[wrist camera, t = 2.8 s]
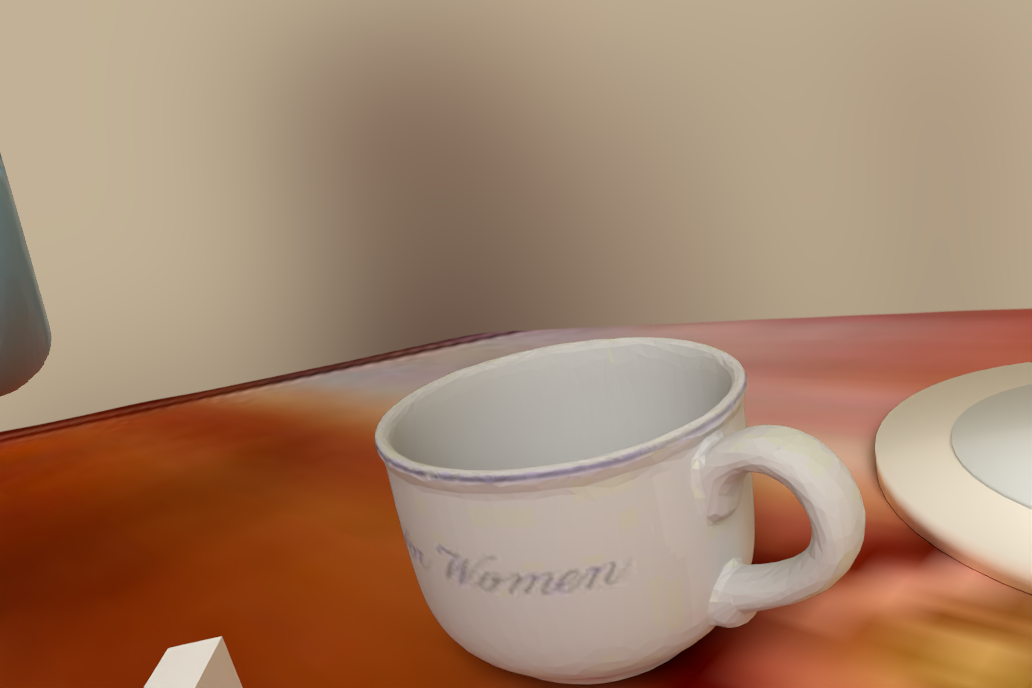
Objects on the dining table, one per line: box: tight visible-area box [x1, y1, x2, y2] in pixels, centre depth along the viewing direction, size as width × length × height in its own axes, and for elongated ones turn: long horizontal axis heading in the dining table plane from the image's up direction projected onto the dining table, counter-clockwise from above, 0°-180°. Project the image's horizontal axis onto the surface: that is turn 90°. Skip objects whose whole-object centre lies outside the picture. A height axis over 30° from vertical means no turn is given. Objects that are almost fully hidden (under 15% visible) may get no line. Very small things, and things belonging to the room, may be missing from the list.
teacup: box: [375, 337, 865, 684], centre depth 21 cm, size 14×11×8 cm
